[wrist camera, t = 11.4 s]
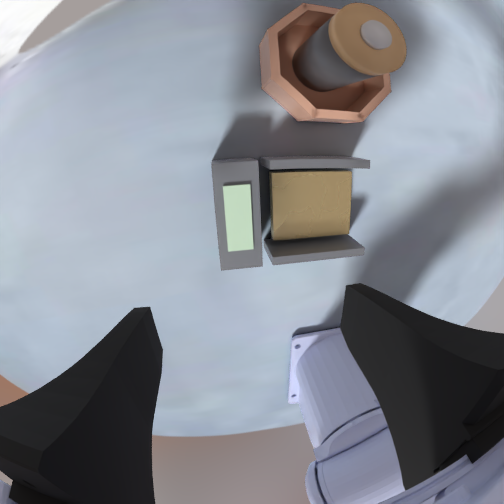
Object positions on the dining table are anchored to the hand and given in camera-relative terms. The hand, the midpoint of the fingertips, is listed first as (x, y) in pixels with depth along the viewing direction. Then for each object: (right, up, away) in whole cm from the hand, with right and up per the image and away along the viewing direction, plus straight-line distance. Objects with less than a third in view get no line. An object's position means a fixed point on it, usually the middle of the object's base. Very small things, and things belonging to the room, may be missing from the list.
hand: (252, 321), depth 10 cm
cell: (+4, +14, +4) cm, 15 cm away
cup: (+4, +14, +5) cm, 16 cm away
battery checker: (+2, +6, +8) cm, 10 cm away
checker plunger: (+4, +6, +8) cm, 10 cm away
